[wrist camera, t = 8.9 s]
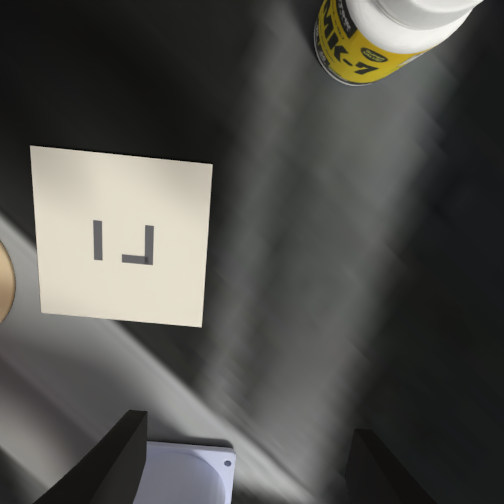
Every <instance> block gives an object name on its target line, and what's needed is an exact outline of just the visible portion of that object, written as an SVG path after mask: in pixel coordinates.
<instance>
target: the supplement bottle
mask: <svg viewBox="0 0 504 504" xmlns="http://www.w3.org/2000/svg"><path fill="white" fill-rule="evenodd" d="M481 1H483V0H324V2H323V3H322V5H321V8H320V10H319V13H318V16H317V20H316V24H315V30H314V45H315V50H316V54H317V57H318V59H319V61H320V63H321V65H322V66H323V68H324V69H325V70H326V72H327V73H328V74H329V75H331V76H332V77H333V78H334V79H336V80H337V81H339V82H341V83H344V84H347V85H352V86H363V85H368V84H371V83H374V82H376V81H379V80H380V79H382V78H384V77H386V76H387V75H389V74H390V73H392V72H394V71H396V70H397V69H399V68H400V67H402V66H404V65H405V64H407V63H409V62H410V61H412V60H414V59H415V58H417V57H418V56H420V55H422V54H423V53H425V52H427V51H428V50H430V49H432V48H433V47H435V46H437V45H438V44H440V43H441V42H443V41H444V40H445V39H446V38H448V37H449V36H450V35H451V34H452V33H453V32H454V31H456V30H457V28H458V27H459V26H460V25H461V24H462V23H463V22H464V20H465V19H466V18H467V16H468V15H469V14H470V12H471V10H472V9H473V7H475V6H476V5H477V4H479V3H480V2H481Z"/></svg>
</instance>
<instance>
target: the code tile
mask: <svg viewBox="0 0 504 504" xmlns="http://www.w3.org/2000/svg"><path fill="white" fill-rule="evenodd" d="M30 151H31V166H32V181H33V196H34V210H35V225H36V240H37V255H38V270H39V284H40V299H41V313H50V314H61V315H72V316H83V317H94V318H105V319H116V320H127V321H139V322H150V323H161V324H172V325H183V326H194V327H202V316H203V301H204V286H205V271H206V256H207V242H208V227H209V212H210V197H211V182H212V167H213V164H204V163H195V162H185V161H175V160H165V159H156V158H146V157H136V156H127V155H117V154H107V153H97V152H88V151H78V150H68V149H59V148H49V147H39V146H30Z"/></svg>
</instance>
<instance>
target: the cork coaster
mask: <svg viewBox="0 0 504 504" xmlns="http://www.w3.org/2000/svg"><path fill="white" fill-rule="evenodd" d="M15 290H16V280H15V273H14V269H13V265H12V262H11V259H10V257H9V255H8V253H7V251H6V249H5V247H4V246H3V244H2V242H1V241H0V323H1V322H2V321H3V320H4V319H5V317H6V316H7V314H8V313H9V311H10V309H11V307H12V304H13V301H14V297H15Z"/></svg>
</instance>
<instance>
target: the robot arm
mask: <svg viewBox="0 0 504 504" xmlns="http://www.w3.org/2000/svg"><path fill="white" fill-rule="evenodd" d="M235 458H236V453H235V451H234V450H233V449H232V448H225V447H212V446H200V445H188V444H175V443H163V442H150V441H147V411H136V410H129V411H128V412H126V414H125V415H124V416H123V417H122V418H121V419H120V420H119V421H118V422H117V424H116V425H115V426H114V427H113V428H112V429H111V430H110V431H109V432H108V433H107V434H106V435H105V436H104V438H103V439H102V440H101V441H100V442H99V443H98V444H97V445H96V446H95V447H94V448H93V449H92V450H91V451H90V452H89V453H88V454H87V455H86V456H85V457H84V458H83V459H82V460H81V461H80V462H79V463H78V464H77V465H76V466H74V467H73V468H72V469H71V470H70V471H69V472H68V473H67V474H66V475H65V476H64V477H63V478H62V479H60V480H59V481H58V482H57V483H56V484H55V485H54V486H53V487H52V488H50V489H49V490H48V491H47V492H46V493H45V494H43V495H42V496H41V497H40V498H39V499H38V500H36V501H35V502H34V503H33V504H231V495H232V486H233V476H234V467H235ZM227 461H230V462H227ZM345 479H346V484H347V489H348V495H349V499H350V504H437V503H436V502H435V501H434V500H433V499H432V498H431V497H430V496H429V495H428V494H427V492H426V491H425V490H424V489H423V488H422V487H421V486H420V485H419V484H418V483H417V482H416V480H415V479H414V478H413V477H412V476H411V475H410V474H409V473H408V471H407V470H406V469H405V468H404V467H403V466H402V464H401V463H400V462H399V461H398V460H397V459H396V457H395V456H394V455H393V454H392V453H391V452H390V450H389V449H388V448H387V447H386V446H385V444H384V443H383V442H382V441H381V440H380V439H379V437H378V436H377V435H376V434H375V433H374V432H373V430H365V429H355V431H354V435H353V440H352V444H351V449H350V454H349V458H348V463H347V468H346V472H345Z"/></svg>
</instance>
